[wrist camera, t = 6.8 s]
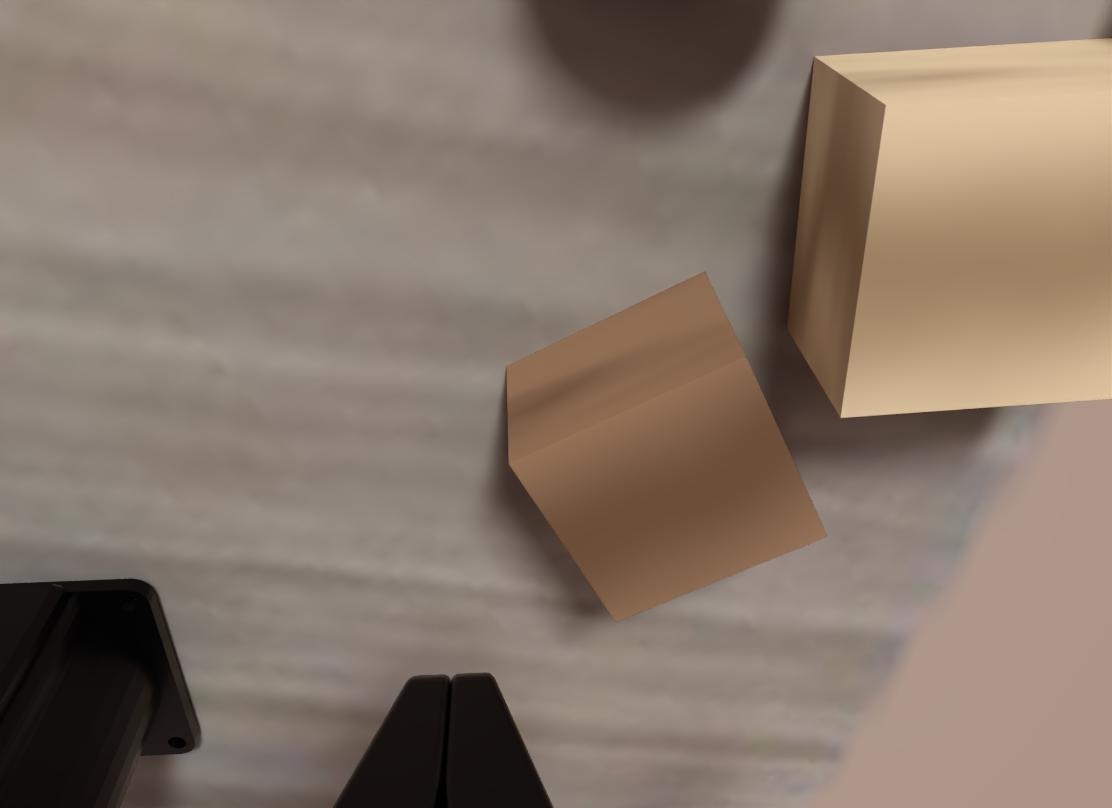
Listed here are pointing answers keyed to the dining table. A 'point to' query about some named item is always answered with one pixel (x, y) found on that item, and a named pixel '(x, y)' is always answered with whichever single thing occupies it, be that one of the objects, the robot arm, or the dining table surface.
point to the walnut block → (656, 451)
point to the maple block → (957, 228)
